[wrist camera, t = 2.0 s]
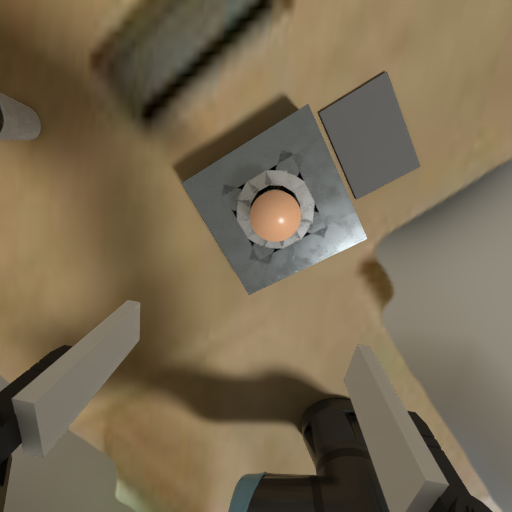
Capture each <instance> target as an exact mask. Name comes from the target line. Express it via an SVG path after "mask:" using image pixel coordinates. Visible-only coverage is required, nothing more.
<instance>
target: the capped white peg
mask: <svg viewBox="0 0 512 512" xmlns="http://www.w3.org/2000/svg"><path fill="white" fill-rule="evenodd" d="M300 221H301V210H300V207H299V205H298V203H297V201H296V200H295V199H294V198H293V197H292V196H291V195H290V194H288V193H286V192H284V191H282V190H279V189H271V190H268V191H266V192H264V193H263V194H262V195H260V196H259V197H258V198H257V199H256V200H255V202H254V203H253V205H252V207H251V211H250V222H251V226H252V228H253V230H254V231H255V232H256V234H257V235H258V236H260V237H261V238H263V239H265V240H267V241H271V242H279V241H283V240H286V239H288V238H289V237H291V236H292V235H293V234H294V233H295V232H296V230H297V229H298V227H299V225H300Z"/></svg>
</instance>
